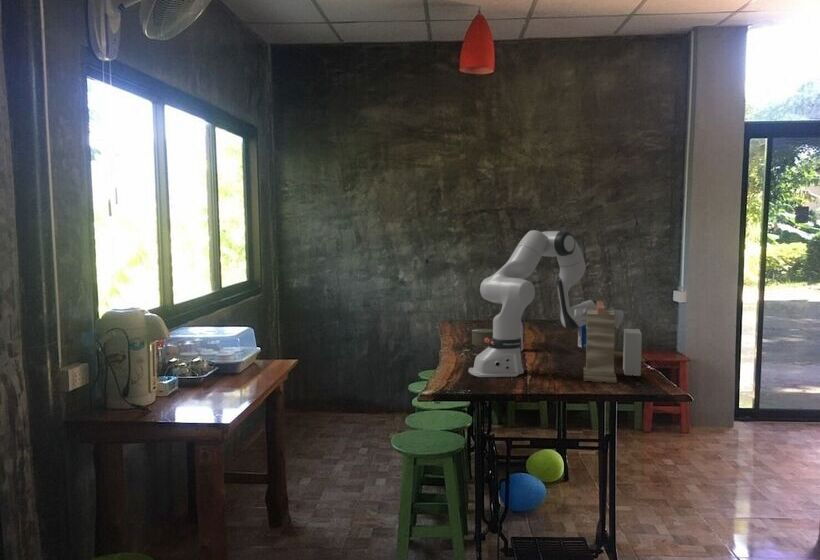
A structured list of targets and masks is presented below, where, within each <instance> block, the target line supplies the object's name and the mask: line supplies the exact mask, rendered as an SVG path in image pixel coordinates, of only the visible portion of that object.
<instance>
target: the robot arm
mask: <svg viewBox="0 0 820 560" xmlns="http://www.w3.org/2000/svg"><path fill="white" fill-rule="evenodd" d="M542 257H551V258H552V257H553V258H556V259H557V263H558V266H559V274H558V276H557V278H556V280H555V282H556V290H557V291H556V292H557V298H558V304H559V306H558V307H559V313H560V314H559V316H560V322H561V324H562V327H563V328H564V329H566V330H568V331H575V330H578V328H579V327H581V326H583V325H586V324H587V309H597V308H596V301H597V300H594V299H589V300H586V301H583V303H581V304H579V303H577V304H575V305H574V306H571V305H570V297H569V291H570V289H571V288H572V287H573V286H574V285H575V284H576V283H577V282H578V281H579V280H581V279H582V277H583V276H584V275H585V272H586V270H587V266H586V261H585V258H584V255H583V252H582V249H581V247H580V246H579V244H578V243H577V240H576V239H575V237H574V235H573V234H572V233H571V232H569V231H565V230H561V231H559V230H546V231H539V230H537V229H536V230H535V229H532V230H529V231H528V232H527V233H526V234H525V235H524V236H523V237H522V239H521V240H520V241H519V242H518V244H517V246H516V248H515V249H514V250H513V252H512V254H511V255H510V257H509V259H508V260H507V261H506V263H505V264H504V265H503V266H502V267H500V268H499V269H498V270H497V271H496V272H494V273H493V274H492V275H490V276H489V277H485V278H483V280H482V281H481V283H480V287H479V292H480V296H481V297H482V298H483V299H484V300H486V301H488V302H491V303H493V304H500V305H502V306H501V309H500V312H499V313H498V314H496V315H495V316H494V317H493V319H492V329H493V337H492V338H491V339H488V338H485V340H484V341H485V342H486V343H488V345H487V348H485V349H483V351H481V352H480V353H478V354H477V355H476V356H475V359H474V364H473V367H469V368H468V373H469V374H470V375H473V376H475V377H479V378H501V377H502V378H505V377H506V378H508V377H509V378H510V377H511V378H512V377H514V378H515V377H518V376H519V375H522V374H524V373H525V371H524V368H523V363H522V356H521V352H522V351H521V338H520V324H521V322H522V317H523V313H524V311H525V310H526V308H527V307H528V305H530V304H531V303H532V302H533V300H534V299H535V295H536V290H535V285H534V284H533V282H532V281H529V280H527V278H529V277H530V276H532V274H533V273H534V271H535V270H536V267H537V266H538V265H539V263H540V260H541V259H542ZM608 310H613V311H614V314H615V330H617V329H619V328H620V325H621V324H622V323H623V321H624V313H625V312H624V310H622V309H614V308H613V307H612V306H611V307H609V308H608Z"/></svg>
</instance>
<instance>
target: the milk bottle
mask: <svg viewBox="0 0 820 560" xmlns="http://www.w3.org/2000/svg"><path fill="white" fill-rule="evenodd" d="M520 338H521V351H520V352H522V351H524V325H523V322H522V321H521V324H520Z"/></svg>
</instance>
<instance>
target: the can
mask: <svg viewBox="0 0 820 560" xmlns="http://www.w3.org/2000/svg"><path fill="white" fill-rule="evenodd" d="M492 337H493V328H474V329H471V344H472V345H474V346H485V347H486V346H487V347H488V346H489V345H488V343H486V342H485V341H484V340H485V338H488V339H491V338H492Z"/></svg>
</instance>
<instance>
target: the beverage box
mask: <svg viewBox="0 0 820 560" xmlns="http://www.w3.org/2000/svg"><path fill="white" fill-rule="evenodd" d="M583 302H584V301H583ZM583 302H580V301H579V302H578V303H577V304H581V303H583ZM603 304H604V305H605V302H603ZM586 344H587V324H586V325H583V326H581V327H579V328H577V347H578V348H580V347H581V348H580V349H586Z"/></svg>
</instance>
